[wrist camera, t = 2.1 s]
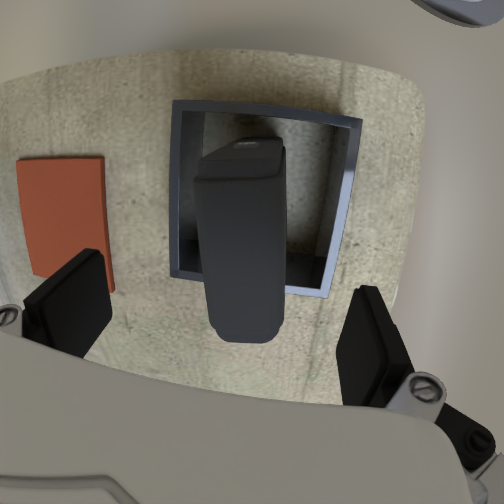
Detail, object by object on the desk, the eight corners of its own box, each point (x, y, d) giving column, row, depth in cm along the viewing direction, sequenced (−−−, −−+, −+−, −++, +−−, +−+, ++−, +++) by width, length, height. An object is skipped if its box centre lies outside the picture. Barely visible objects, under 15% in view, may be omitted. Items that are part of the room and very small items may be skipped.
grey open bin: (196, 101, 24) (172, 99, 19) (346, 117, 23) (363, 119, 18) (190, 246, 30) (170, 277, 25) (321, 263, 29) (327, 298, 24)
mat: (20, 159, 28) (15, 161, 27) (104, 157, 27) (100, 158, 26) (36, 271, 34) (33, 274, 33) (115, 289, 33) (112, 293, 33)
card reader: (236, 133, 25) (177, 157, 11) (285, 131, 25) (282, 152, 11) (242, 233, 29) (202, 344, 15) (286, 233, 28) (282, 348, 15)
